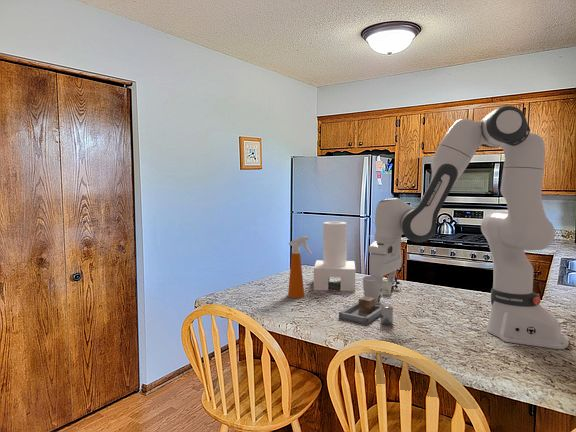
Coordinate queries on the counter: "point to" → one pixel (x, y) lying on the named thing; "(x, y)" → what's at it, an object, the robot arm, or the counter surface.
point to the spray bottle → (297, 268)
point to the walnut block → (366, 305)
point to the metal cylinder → (386, 315)
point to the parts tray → (359, 314)
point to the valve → (389, 286)
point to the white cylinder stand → (334, 258)
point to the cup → (372, 288)
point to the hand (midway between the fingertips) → (386, 285)
